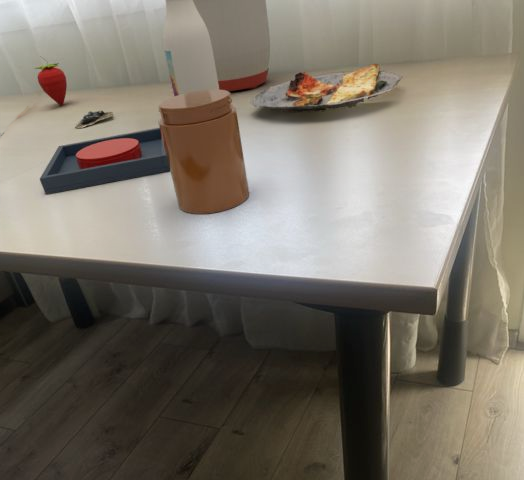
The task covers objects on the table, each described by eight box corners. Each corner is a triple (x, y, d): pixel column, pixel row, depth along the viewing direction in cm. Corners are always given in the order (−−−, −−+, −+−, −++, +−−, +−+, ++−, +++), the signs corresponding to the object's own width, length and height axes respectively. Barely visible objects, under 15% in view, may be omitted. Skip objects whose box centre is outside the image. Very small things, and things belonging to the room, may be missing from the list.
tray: (45, 194, 69) (39, 178, 68) (63, 160, 82) (58, 146, 80) (171, 170, 70) (167, 154, 69) (169, 140, 82) (166, 126, 81)
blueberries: (121, 116, 101) (118, 105, 100) (90, 129, 96) (86, 118, 95) (97, 115, 105) (94, 105, 103) (66, 128, 100) (62, 117, 98)
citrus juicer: (197, 85, 116) (176, -26, 104) (276, 73, 114) (264, -41, 102) (187, 101, 103) (161, -23, 92) (275, 89, 101) (260, -40, 90)
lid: (67, 168, 75) (63, 156, 74) (115, 148, 80) (111, 136, 79) (106, 174, 70) (102, 161, 69) (154, 153, 75) (151, 140, 74)
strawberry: (47, 111, 116) (28, 60, 110) (48, 105, 122) (31, 56, 116) (74, 105, 117) (57, 54, 111) (74, 99, 123) (58, 51, 117)
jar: (179, 219, 56) (154, 114, 50) (177, 193, 62) (155, 97, 56) (253, 205, 56) (237, 99, 50) (244, 181, 63) (229, 84, 56)
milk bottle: (230, 109, 93) (208, -30, 81) (209, 122, 88) (182, -24, 76) (193, 110, 97) (167, -23, 85) (171, 123, 91) (139, -17, 79)
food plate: (286, 87, 102) (284, 66, 99) (411, 78, 93) (411, 56, 91) (234, 125, 84) (230, 102, 82) (382, 119, 75) (382, 92, 73)
